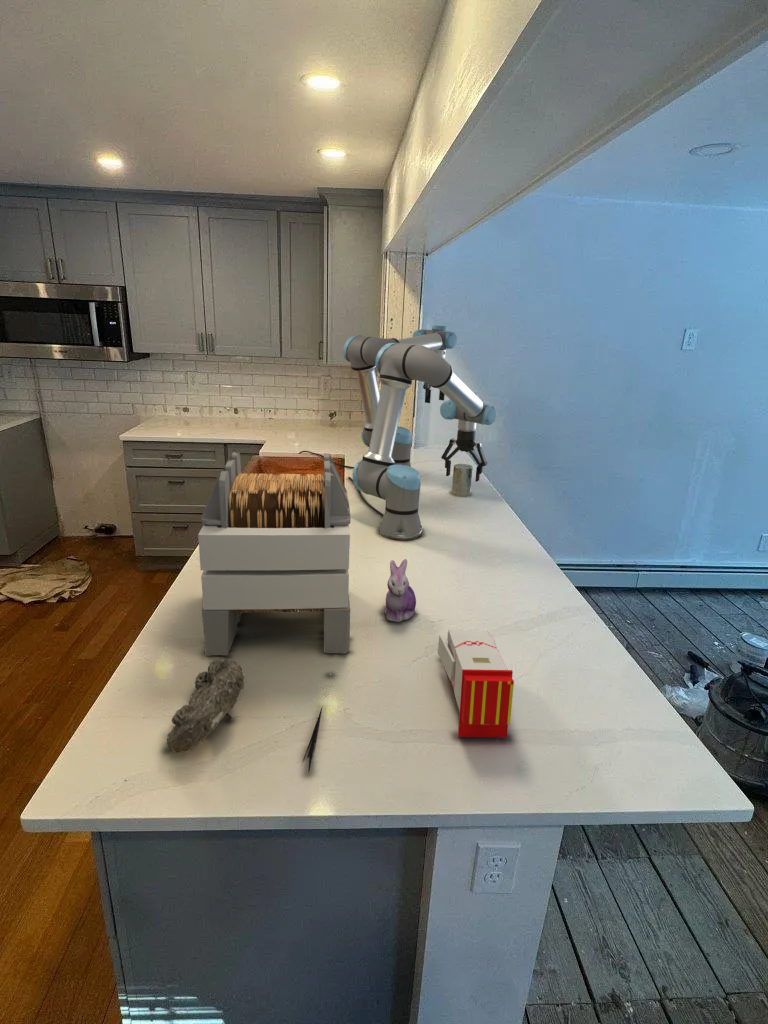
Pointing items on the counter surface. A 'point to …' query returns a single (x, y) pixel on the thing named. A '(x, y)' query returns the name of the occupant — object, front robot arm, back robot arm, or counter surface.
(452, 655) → the toy
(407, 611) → the figurine
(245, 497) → the record crate
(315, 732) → the feather
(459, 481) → the tin
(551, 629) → the counter surface
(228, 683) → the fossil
